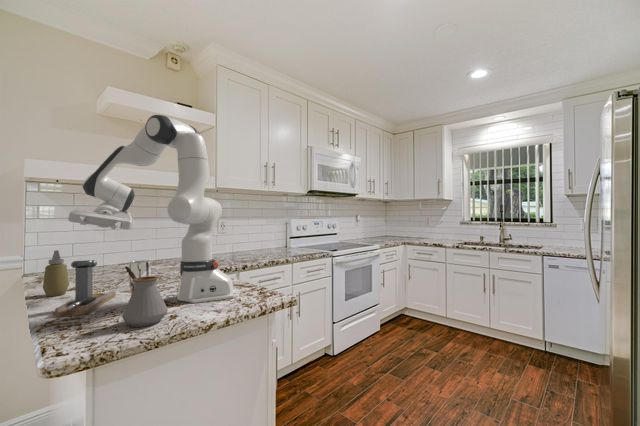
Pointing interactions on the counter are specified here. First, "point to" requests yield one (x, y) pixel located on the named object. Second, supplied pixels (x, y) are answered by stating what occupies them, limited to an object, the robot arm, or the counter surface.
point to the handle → (83, 283)
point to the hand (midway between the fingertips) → (98, 224)
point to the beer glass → (139, 271)
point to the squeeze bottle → (56, 276)
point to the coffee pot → (144, 302)
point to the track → (84, 305)
